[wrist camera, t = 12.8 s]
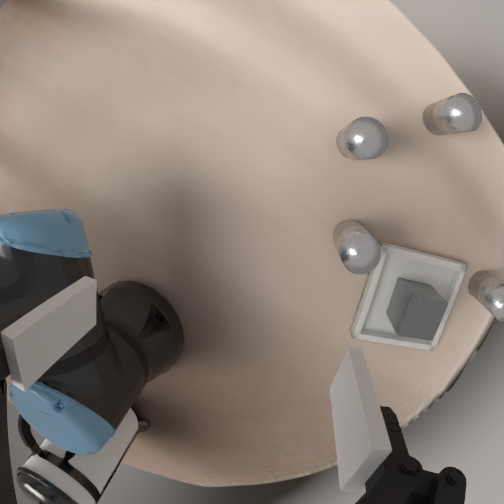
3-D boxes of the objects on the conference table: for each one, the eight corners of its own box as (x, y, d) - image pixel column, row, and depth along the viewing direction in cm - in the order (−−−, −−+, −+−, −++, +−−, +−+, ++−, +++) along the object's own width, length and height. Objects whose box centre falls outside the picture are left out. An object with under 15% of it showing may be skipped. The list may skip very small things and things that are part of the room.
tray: (428, 343, 40) (433, 350, 38) (350, 330, 41) (352, 338, 39) (460, 261, 36) (466, 266, 34) (378, 240, 37) (382, 244, 36)
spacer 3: (448, 139, 33) (479, 136, 25) (420, 129, 33) (448, 123, 25) (452, 110, 31) (483, 101, 24) (425, 99, 32) (452, 87, 24)
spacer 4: (484, 299, 37) (511, 323, 29) (464, 294, 37) (491, 319, 30) (493, 273, 36) (523, 294, 28) (474, 267, 36) (503, 289, 29)
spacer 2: (360, 255, 38) (374, 277, 31) (329, 248, 39) (337, 269, 31) (369, 224, 37) (385, 239, 29) (337, 216, 37) (347, 230, 30)
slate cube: (417, 318, 39) (432, 340, 33) (385, 312, 39) (397, 335, 33) (430, 284, 37) (448, 303, 32) (397, 277, 38) (412, 296, 32)
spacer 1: (366, 163, 35) (383, 163, 28) (333, 154, 36) (343, 152, 28) (372, 130, 34) (391, 123, 26) (340, 122, 34) (350, 111, 27)
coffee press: (162, 402, 50) (85, 543, 21) (139, 443, 54) (77, 554, 26) (80, 349, 49) (-29, 456, 21) (69, 397, 54) (-11, 491, 25)
